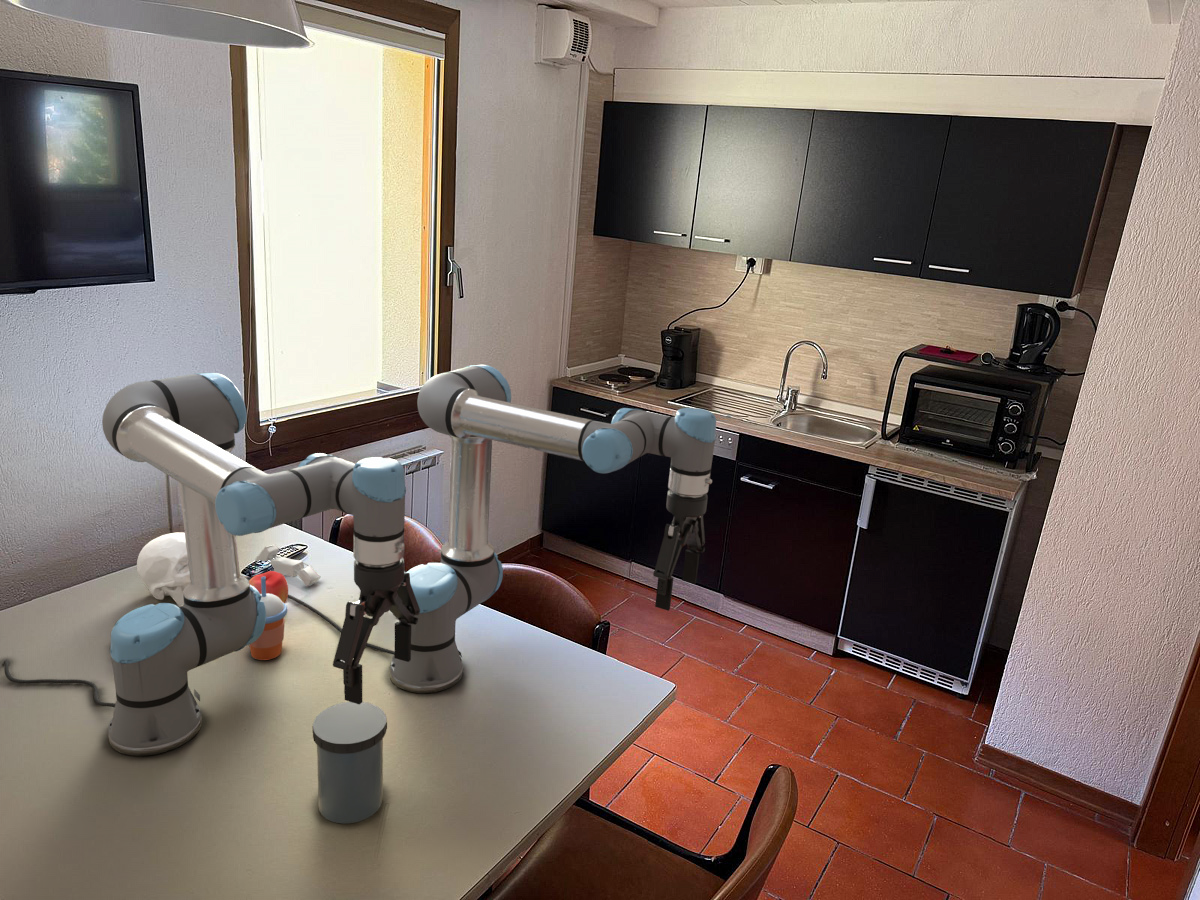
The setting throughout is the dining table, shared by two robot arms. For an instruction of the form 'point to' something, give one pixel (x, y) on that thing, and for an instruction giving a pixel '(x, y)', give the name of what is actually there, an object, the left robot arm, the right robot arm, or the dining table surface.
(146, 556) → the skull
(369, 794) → the jar
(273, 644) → the cup with straw
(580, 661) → the dining table surface
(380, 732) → the lid
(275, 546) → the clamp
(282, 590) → the apple
